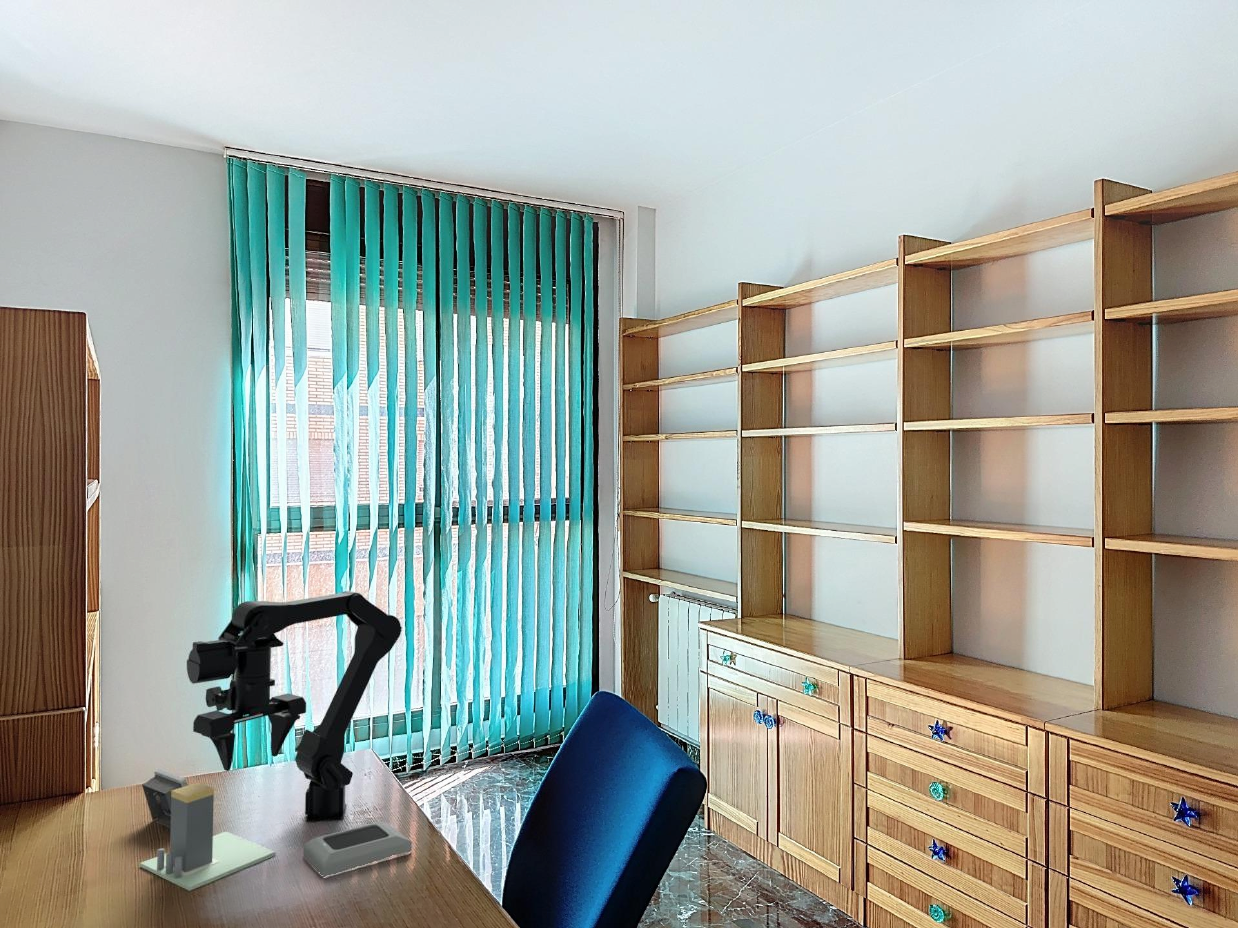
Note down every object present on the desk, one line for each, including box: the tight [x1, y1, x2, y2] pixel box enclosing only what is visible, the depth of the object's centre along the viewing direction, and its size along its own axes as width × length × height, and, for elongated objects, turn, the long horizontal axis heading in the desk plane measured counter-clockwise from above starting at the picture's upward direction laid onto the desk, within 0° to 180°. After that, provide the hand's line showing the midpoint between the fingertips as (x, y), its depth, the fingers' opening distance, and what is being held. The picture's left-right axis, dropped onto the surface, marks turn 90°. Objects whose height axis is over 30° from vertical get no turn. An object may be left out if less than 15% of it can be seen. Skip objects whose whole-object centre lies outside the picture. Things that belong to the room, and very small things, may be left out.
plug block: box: [169, 782, 215, 872], centre depth 141 cm, size 4×4×12 cm
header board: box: [139, 831, 276, 891], centre depth 144 cm, size 15×14×4 cm
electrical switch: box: [141, 769, 189, 829], centre depth 158 cm, size 9×5×9 cm, turn 57°
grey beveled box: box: [302, 821, 413, 877], centre depth 147 cm, size 10×4×15 cm
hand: (251, 762), depth 153 cm, fingers open, 9 cm apart
